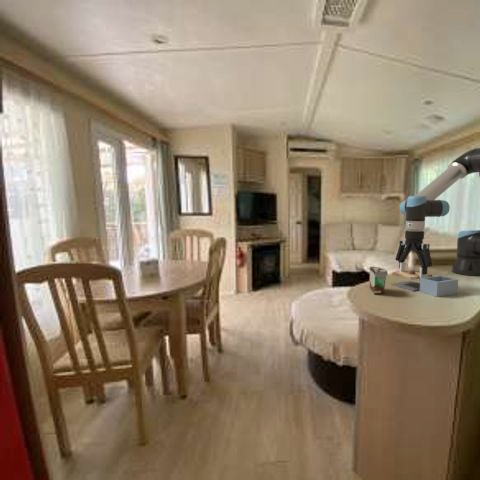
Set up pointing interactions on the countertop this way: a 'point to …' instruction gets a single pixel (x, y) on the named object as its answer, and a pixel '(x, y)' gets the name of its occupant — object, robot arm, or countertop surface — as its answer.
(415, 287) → the mat
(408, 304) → the countertop surface
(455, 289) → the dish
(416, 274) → the lid
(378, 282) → the food container
